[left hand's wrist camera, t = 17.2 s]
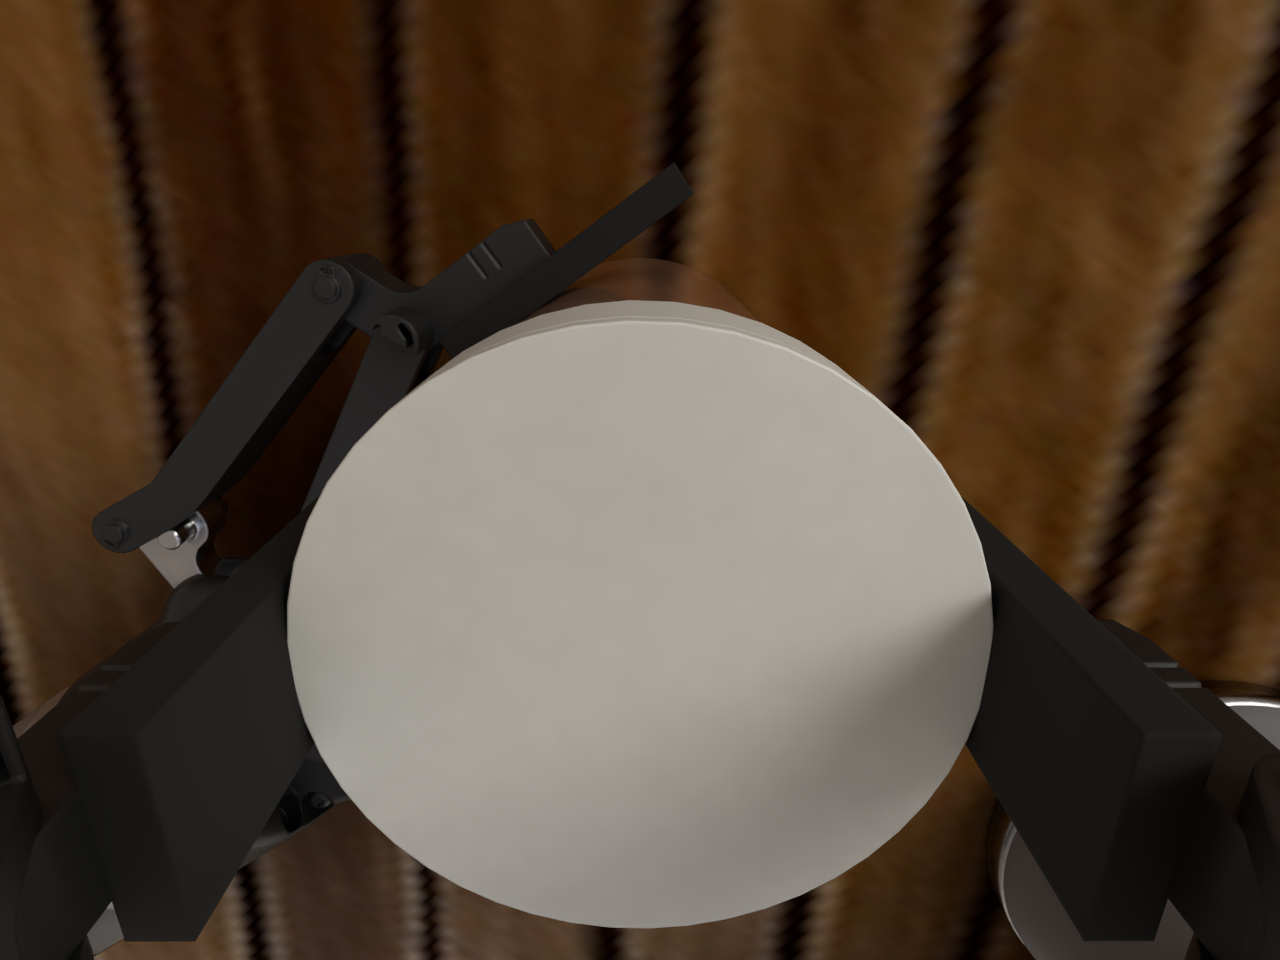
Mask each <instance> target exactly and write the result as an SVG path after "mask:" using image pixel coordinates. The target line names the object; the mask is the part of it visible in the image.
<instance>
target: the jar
mask: <svg viewBox="0 0 1280 960" xmlns="http://www.w3.org/2000/svg"><path fill="white" fill-rule="evenodd" d="M626 300H639V301H667V302H679V303H685V304H691V305H696V306H702V307H708V308H714V309H719V310H723V311H726V312H729V313H732V314H735V315H738V316H742V317H745V318H748V319H751V320H754V321H757V322H760V321H759V320H758V319H757V318H756V317H755V316H754V315H753V314H752V313H751V312H750V311H749V310H748V309H747V308H746V307H745V306H744V305H743V304H742V303H741V302H740V301H739V300H738V299H736V298H735V297H734V296H733V295H732V294H731V293H730V292H729V291H728V290H727V289H725V288H724V287H723V286H722V285H720V284H719V283H717V282H716V281H714V280H713V279H712V278H710V277H709V276H707V275H705V274H703V273H701V272H699V271H697V270H695V269H693V268H690V267H687V266H684V265H681V264H678V263H675V262H670V261H665V260H660V259H651V258H630V259H619V260H614V261H610V262H605V263H601V264H598V265H597V266H595V267H594V268H593V269H591V270H590V271H589V272H587V273H586V274H585V275H583V276H582V277H581V278H579V279H578V280H577V281H575V282H574V283H572V284H571V285H570V286H568V287H567V288H566V289H564V290H563V291H562V292H560V293H559V294H558V295H556V296H555V297H554V298H552V299H551V300H549V301H548V302H547V303H545V304H544V305H543V306H541V307H540V308H539V309H537V310H536V311H535V312H533V313H532V314H531V315H529V316H528V317H526V318H525V319H524V320H522V321H521V322H524V321H527V320H529V319H532V318H534V317H537V316H539V315H543V314H547V313H551V312H555V311H560V310H564V309H568V308H572V307H576V306H581V305H585V304H595V303H606V302H616V301H626ZM521 322H520V323H521ZM518 324H519V323H518Z"/></svg>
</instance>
